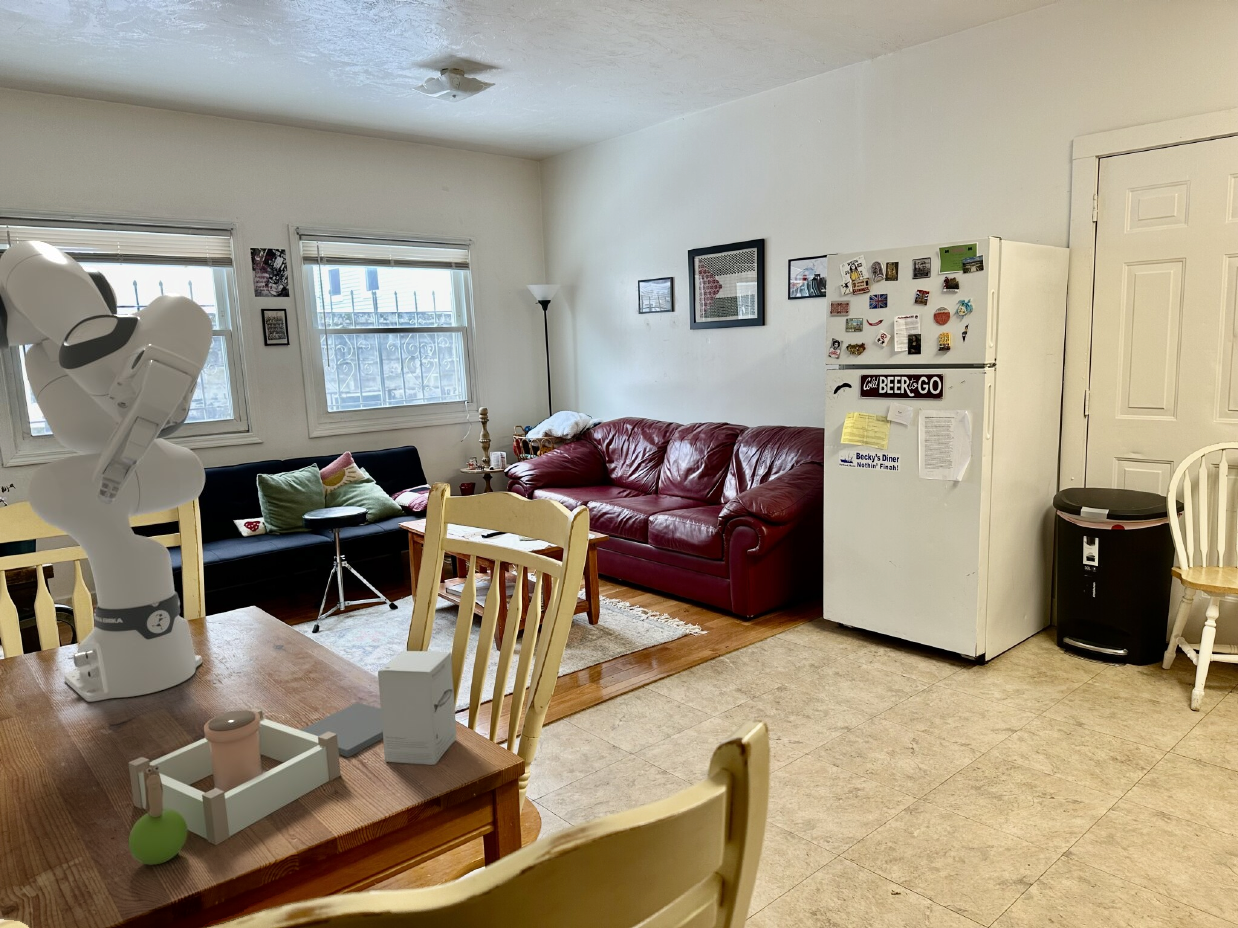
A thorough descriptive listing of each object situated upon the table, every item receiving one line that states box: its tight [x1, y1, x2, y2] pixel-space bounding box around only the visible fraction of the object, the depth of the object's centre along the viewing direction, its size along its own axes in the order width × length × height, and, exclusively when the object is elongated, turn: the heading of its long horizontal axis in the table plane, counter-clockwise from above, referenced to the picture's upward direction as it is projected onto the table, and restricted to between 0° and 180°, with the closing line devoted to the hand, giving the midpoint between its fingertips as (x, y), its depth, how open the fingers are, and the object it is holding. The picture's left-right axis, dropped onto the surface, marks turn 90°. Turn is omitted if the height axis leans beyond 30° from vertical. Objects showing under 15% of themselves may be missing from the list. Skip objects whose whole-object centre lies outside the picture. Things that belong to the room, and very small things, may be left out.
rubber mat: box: [299, 702, 383, 758], centre depth 116 cm, size 11×11×1 cm
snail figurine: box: [128, 765, 188, 865], centre depth 87 cm, size 5×6×12 cm
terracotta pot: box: [203, 709, 264, 793], centre depth 101 cm, size 6×6×9 cm
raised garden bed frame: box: [128, 707, 342, 846], centre depth 101 cm, size 17×17×6 cm
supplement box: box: [377, 650, 458, 766], centre depth 109 cm, size 7×7×13 cm
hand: (116, 480), depth 95 cm, fingers open, 8 cm apart
